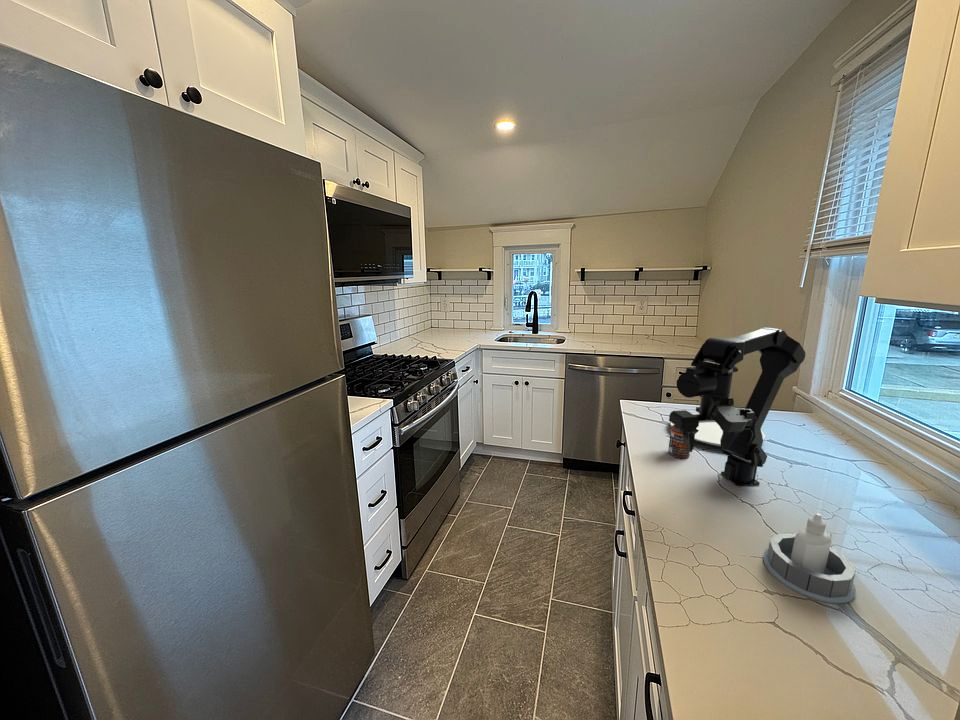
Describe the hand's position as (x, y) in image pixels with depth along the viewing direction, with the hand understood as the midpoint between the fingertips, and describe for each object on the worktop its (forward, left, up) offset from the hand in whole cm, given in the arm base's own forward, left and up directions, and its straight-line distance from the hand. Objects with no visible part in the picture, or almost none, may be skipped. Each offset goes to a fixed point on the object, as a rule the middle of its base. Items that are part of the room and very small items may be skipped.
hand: (707, 450), depth 92 cm
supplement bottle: (-6, -20, -12) cm, 24 cm away
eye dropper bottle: (-3, +26, -12) cm, 29 cm away
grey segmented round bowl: (-3, +26, -12) cm, 29 cm away
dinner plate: (-26, -32, -12) cm, 43 cm away
